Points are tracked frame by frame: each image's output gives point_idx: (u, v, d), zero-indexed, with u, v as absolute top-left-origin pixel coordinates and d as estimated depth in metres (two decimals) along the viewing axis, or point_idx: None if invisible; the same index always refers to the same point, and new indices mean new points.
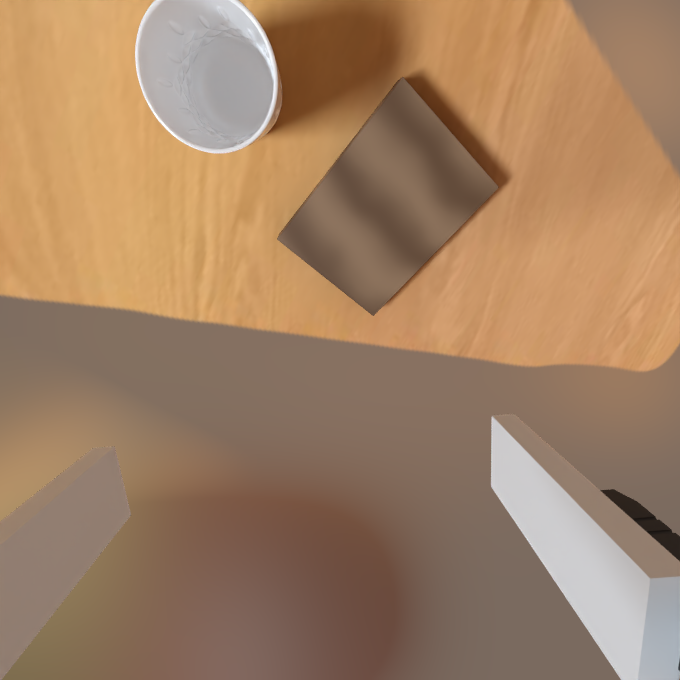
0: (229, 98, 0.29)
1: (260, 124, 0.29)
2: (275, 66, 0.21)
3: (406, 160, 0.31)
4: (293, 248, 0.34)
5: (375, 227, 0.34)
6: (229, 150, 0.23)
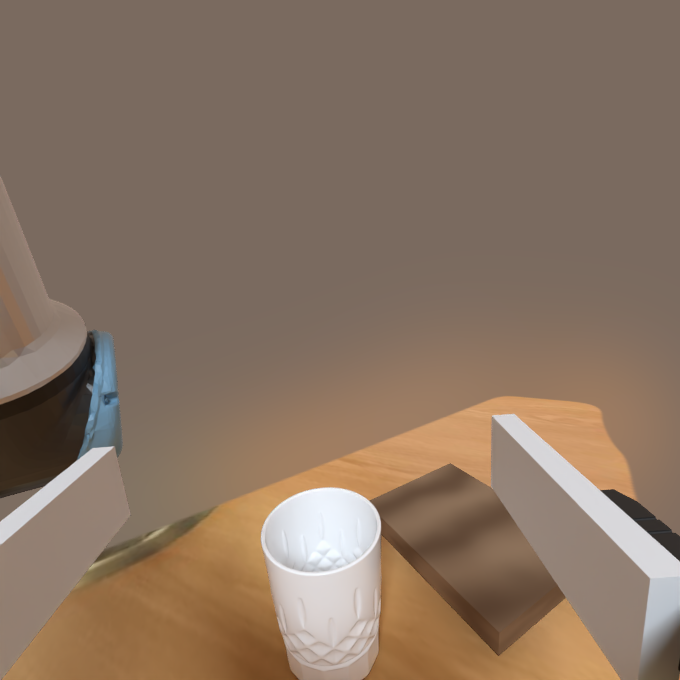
0: None
1: None
2: None
3: (423, 506, 0.37)
4: (511, 616, 0.26)
5: (481, 533, 0.33)
6: (379, 527, 0.24)
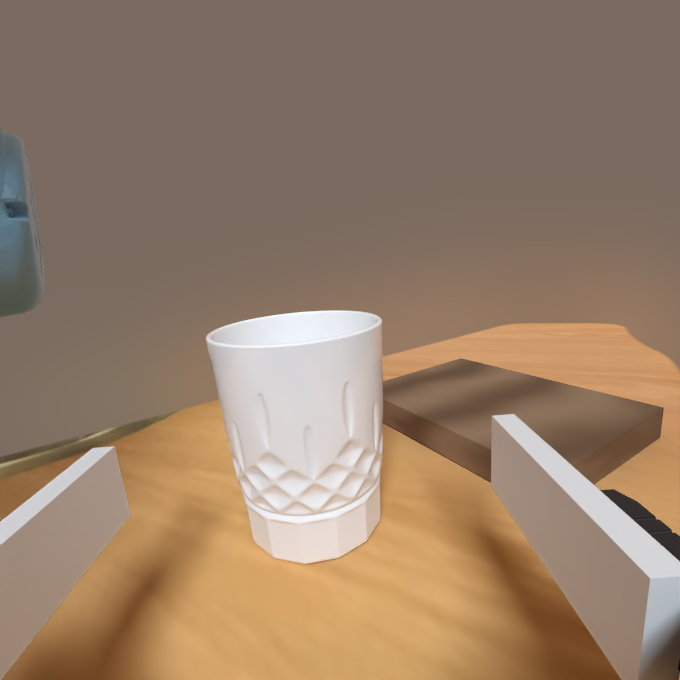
0: None
1: None
2: (317, 311, 0.21)
3: (432, 387, 0.30)
4: None
5: (509, 402, 0.26)
6: (379, 320, 0.17)
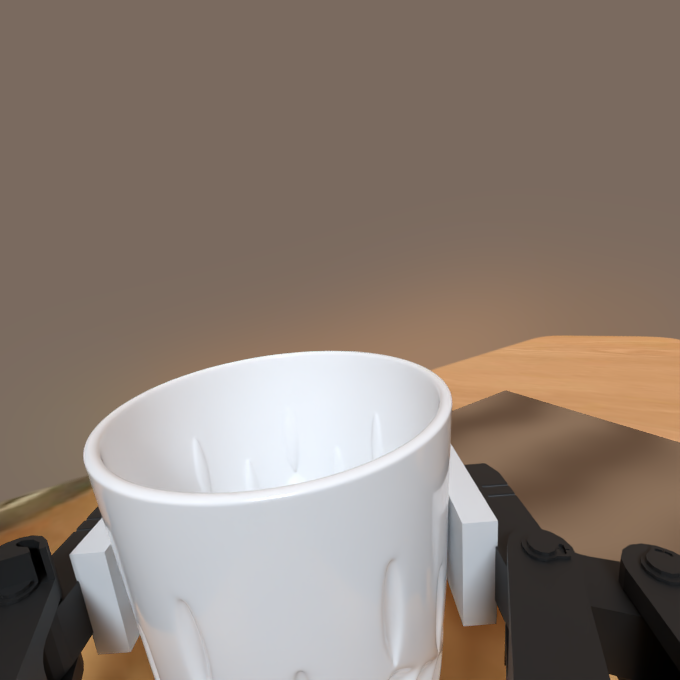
0: None
1: None
2: (320, 351, 0.13)
3: (479, 440, 0.21)
4: None
5: (603, 474, 0.18)
6: (445, 389, 0.08)
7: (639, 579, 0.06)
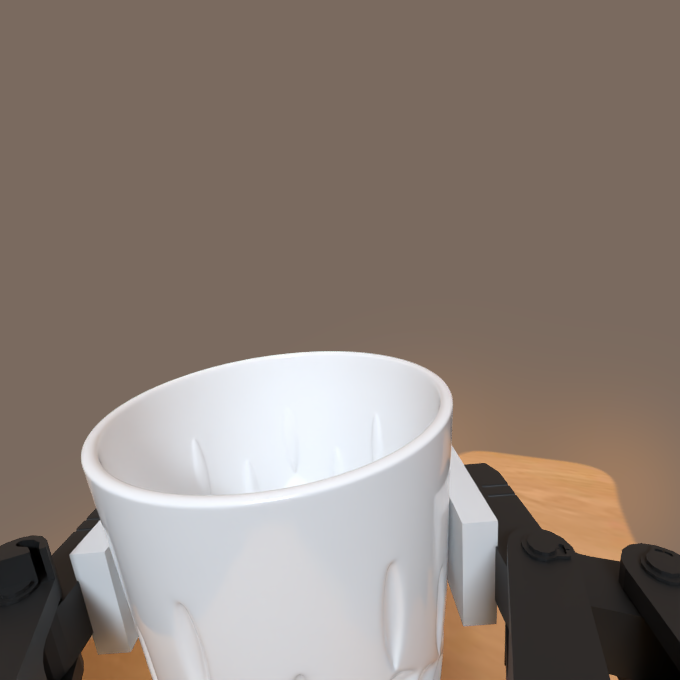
0: None
1: None
2: (320, 351, 0.13)
3: None
4: None
5: None
6: (446, 390, 0.08)
7: (639, 579, 0.06)
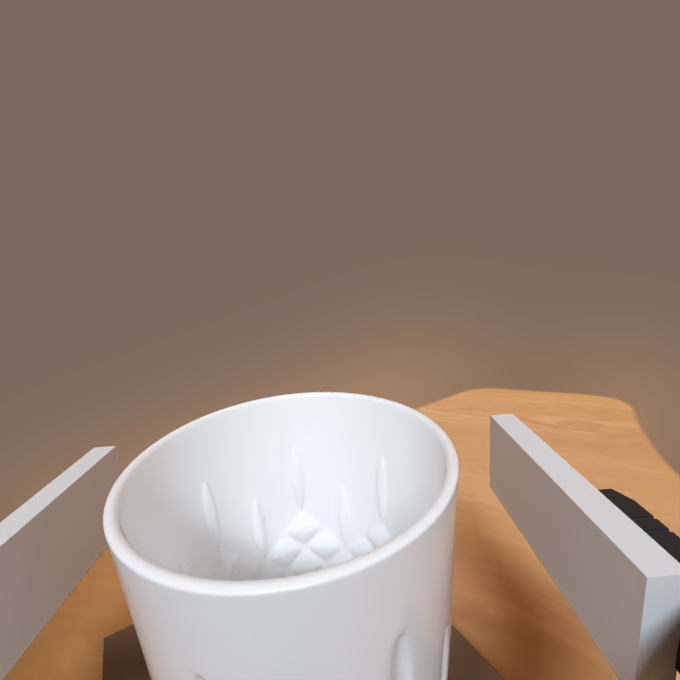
0: None
1: None
2: (326, 392, 0.13)
3: None
4: None
5: None
6: (452, 451, 0.09)
7: None
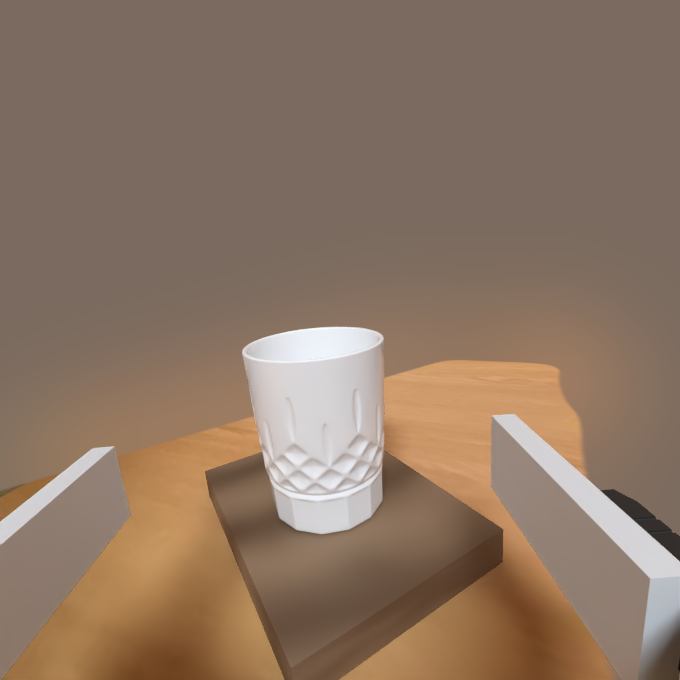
0: None
1: None
2: (329, 327, 0.25)
3: None
4: (326, 637, 0.15)
5: None
6: (381, 337, 0.20)
7: None
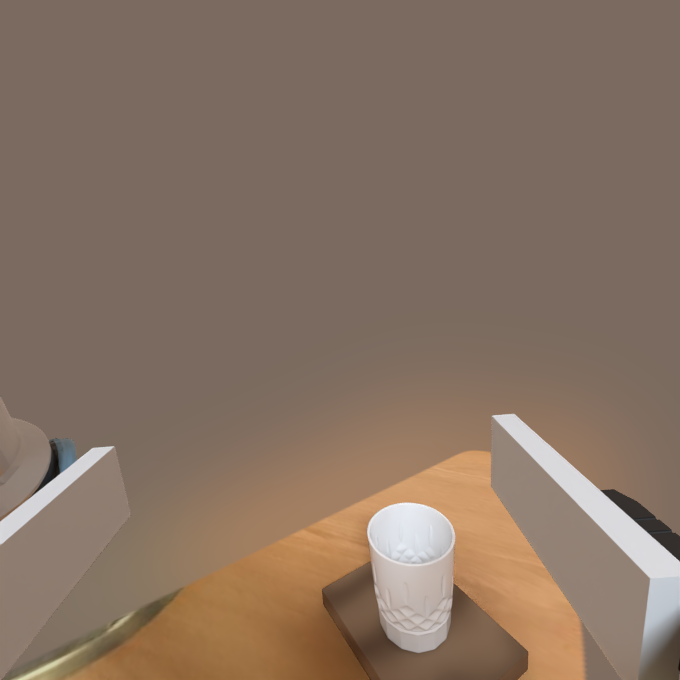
0: None
1: None
2: None
3: (375, 594, 0.39)
4: None
5: None
6: (453, 531, 0.33)
7: None
